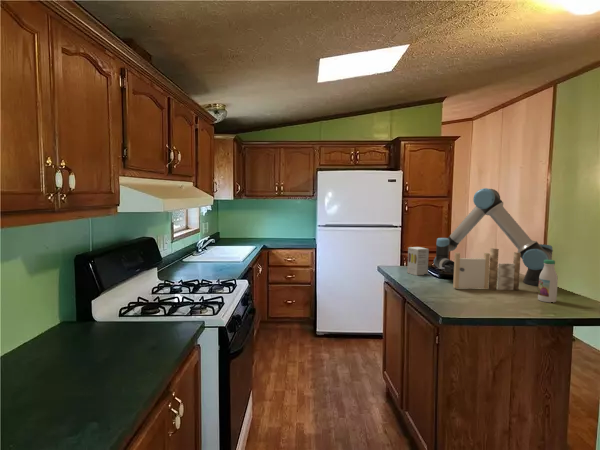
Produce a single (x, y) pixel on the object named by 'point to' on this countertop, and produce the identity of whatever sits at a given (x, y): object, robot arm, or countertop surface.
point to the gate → (471, 272)
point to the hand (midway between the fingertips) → (463, 273)
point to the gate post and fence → (503, 272)
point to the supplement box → (417, 260)
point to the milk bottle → (548, 282)
